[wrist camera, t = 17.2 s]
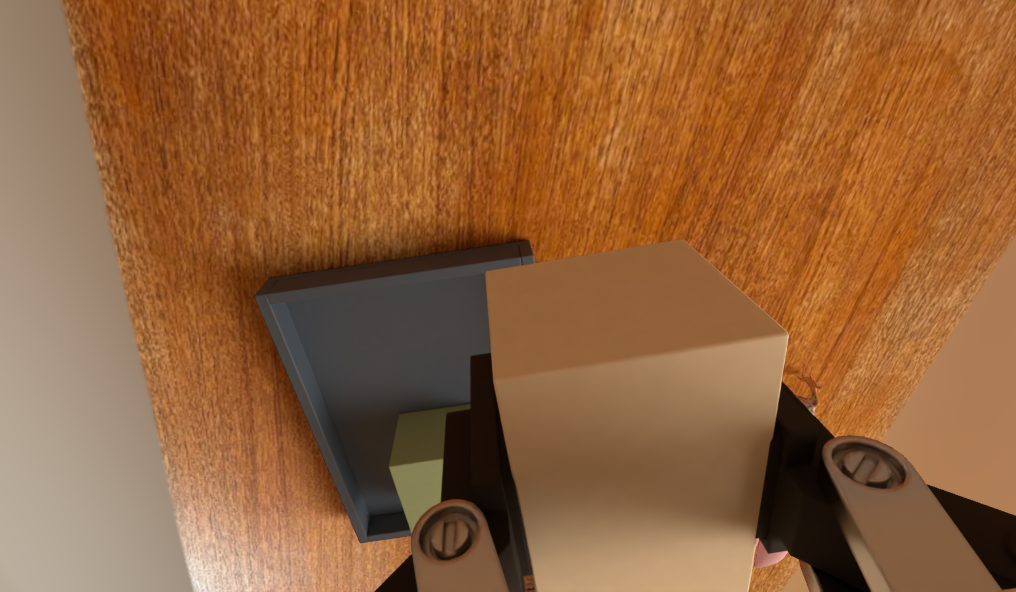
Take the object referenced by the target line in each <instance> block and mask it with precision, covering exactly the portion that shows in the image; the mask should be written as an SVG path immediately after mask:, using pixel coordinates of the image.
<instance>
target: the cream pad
mask: <svg viewBox="0 0 1016 592" xmlns="http://www.w3.org/2000/svg"><path fill="white" fill-rule="evenodd" d="M485 277H486V291H487V304H488V317H489V331H490V344H491V358H492V371H493V383H494V388H495V393H496V398H497V403H498V408H499V413H500V418H501V423H502V428H503V433H504V438H505V443H506V448H507V453H508V458H509V463H510V468H511V473H512V477H513V479H514V482H515V487H516V492H517V497H518V502H519V507H520V512H521V517H522V522H523V527H524V532H525V537H526V542H527V547H528V552H529V557H530V562H531V567H532V572H533V575H532V577H533V582H534V587H535V592H748V591H749V585H750V579H751V572H752V566H753V560H754V553H755V547H756V541H757V539H755V537H756V530H757V524H758V517H759V511H760V504H761V498H762V491H763V485H764V479H765V472H766V466H767V459H768V453H769V446H770V441H771V440H772V439H773V433H774V427H775V421H776V414H777V408H778V402H779V395H780V389H781V383H782V376H783V370H784V364H785V357H786V351H787V345H788V338H789V334H788V332H787V331H786V330H785V329H784V328H783V327H782V326H780V325H779V324H778V323H777V322H776V321H775V320H774V319H773V318H771V317H770V316H769V315H768V314H767V313H766V312H765V311H764V310H763V309H761V308H760V307H759V306H758V305H757V304H756V303H755V302H754V301H752V300H751V299H750V298H749V297H748V296H747V295H746V294H745V293H743V292H742V291H741V290H740V289H739V288H738V287H737V286H736V285H734V284H733V283H732V282H731V281H730V280H729V279H728V278H727V277H725V276H724V275H723V274H722V273H721V272H720V271H719V270H718V269H716V268H715V267H714V266H713V265H712V264H711V263H710V262H709V261H707V260H706V259H705V258H704V257H703V256H702V255H701V254H700V253H698V252H697V251H696V250H695V249H694V248H693V247H692V246H691V245H689V244H688V243H687V242H686V241H685V240H683V239H680V240H674V241H668V242H662V243H656V244H650V245H644V246H638V247H632V248H625V249H619V250H613V251H607V252H601V253H595V254H589V255H583V256H577V257H571V258H564V259H558V260H552V261H546V262H540V263H534V264H528V265H522V266H516V267H510V268H503V269H497V270H491V271H487V272H486V273H485Z"/></svg>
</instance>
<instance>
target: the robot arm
mask: <svg viewBox="0 0 1016 592" xmlns="http://www.w3.org/2000/svg"><path fill="white" fill-rule="evenodd" d="M470 406H471V409H467V410H461V411H455V412H449V413H447V414H446V422H445V438H444V455H443V471H442V488H441V502H440V503H438V504H436V505H434V506H432V507H431V508H429V509H428V510H427V511H426V512H425V513H424V514H422V516H421V517H420V518H419V520H418V521H417V523H416V524H415V526H414V529H413V532H412V535H411V550H412V554H411V555H410V556H409V557H408V558H407V559H406V560H405V561H404V562H403V563H402V564H401V565H400V566H399V567H398V568H397V569H396V570H395V571H394V572H393V573H392V574H391V575H390V576H389V577H388V578H387V579H386V580H385V582H384V583H383V584H382V585H381V586H380V587H379V588H378V589H377V590H376V591H375V592H525V583H524V576H530V575H533V572H532V567H531V562H530V557H529V552H528V547H527V542H526V537H525V532H524V527H523V522H522V517H521V512H520V507H519V502H518V497H517V492H516V487H515V482H514V479H513V477H512V473H511V468H510V463H509V458H508V453H507V448H506V443H505V438H504V433H503V428H502V423H501V418H500V413H499V408H498V403H497V398H496V393H495V388H494V383H493V371H492V358H491V353H485V354H479V355H473V356H470ZM758 538H759V539H760V541H761V543H762V544H763V546H764V548H765V550H766V551H767V553H768V554H771V553H777V552H784V551H788V552H789V554H790V555H791V556H793V557H795V558H797V559H799V563H800V567H801V569H802V572H803V575H804V578H805V580H806V583H807V586H808V588H809V591H810V592H1016V516H1015V515H1012V514H1009V513H1006V512H1004V511H1001V510H998V509H995V508H992V507H989V506H987V505H984V504H981V503H978V502H975V501H973V500H969V499H967V498H964V497H961V496H958V495H955V494H953V493H950V492H947V491H944V490H941V489H938V488H936V487H933V486H930V485H927V484H926V483H925V482H924V481H923V479H922V478H921V476H920V475H919V474H918V472H917V471H916V470H915V468H914V467H913V465H912V464H911V463H910V462H909V461H908V460H907V459H906V458H905V457H904V456H903V455H902V454H901V453H899V452H898V451H896V450H895V449H893V448H892V447H890V446H888V445H886V444H883V443H881V442H879V441H877V440H873V439H870V438H866V437H861V436H852V435H848V436H838V437H836V438H835V437H834V436H833V435H832V434H831V433H830V432H829V431H828V430H827V429H826V428H825V427H824V426H823V424H822V423H821V422H820V421H819V420H818V419H817V418H816V417H815V416H814V415H813V414H812V413H811V412H810V411H809V410H808V408H807V407H806V406H805V405H804V404H803V403H802V402H801V401H800V400H799V399H798V398H797V397H796V396H795V395H794V394H793V392H792V391H791V390H790V389H789V388H788V387H787V386H786V385H785V384H784V383H783V382H782V383H781V389H780V395H779V402H778V408H777V414H776V421H775V427H774V433H773V439H772V440H771V441H770V446H769V453H768V459H767V466H766V472H765V479H764V485H763V491H762V498H761V504H760V511H759V517H758V524H757V530H756V537H755V539H758Z"/></svg>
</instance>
